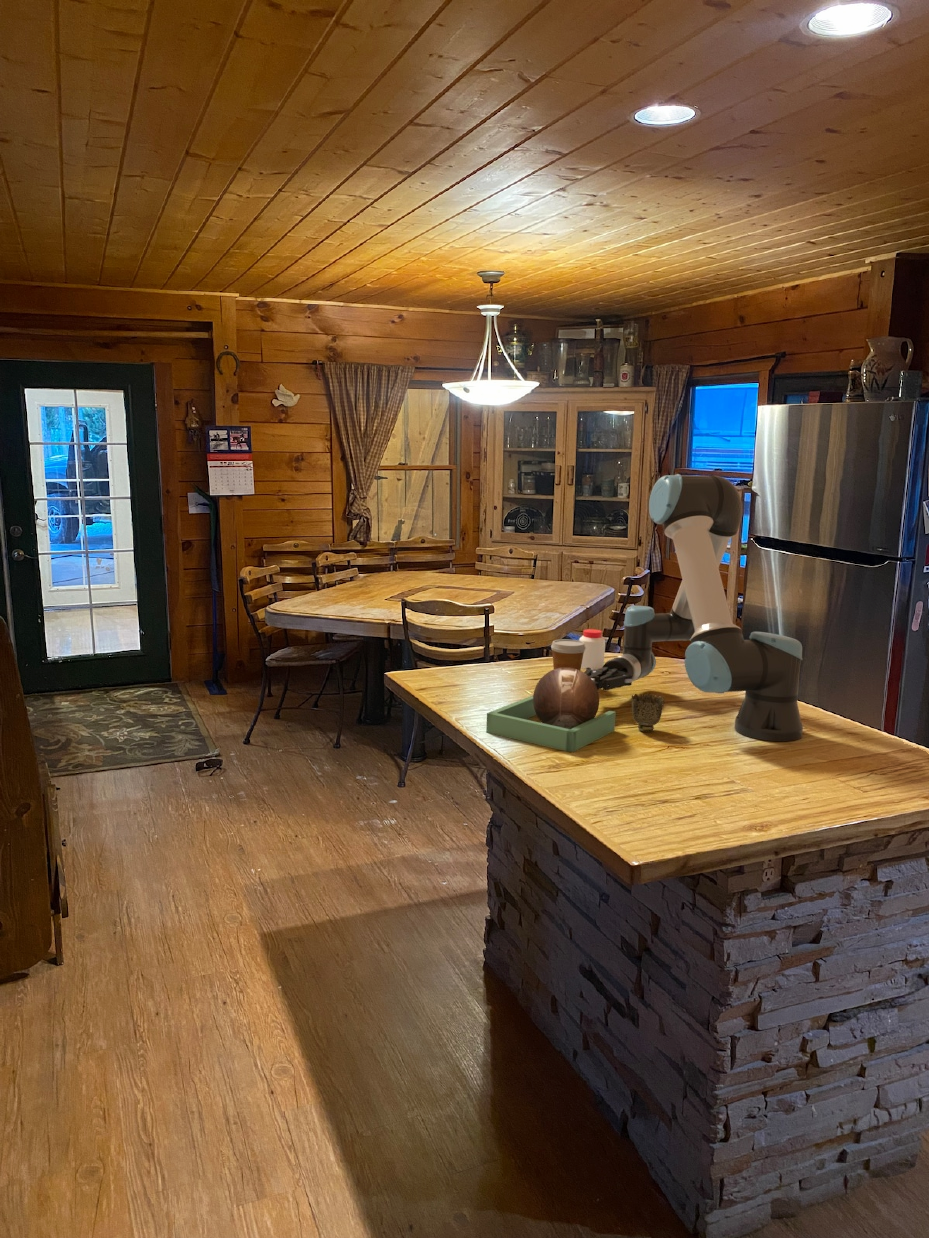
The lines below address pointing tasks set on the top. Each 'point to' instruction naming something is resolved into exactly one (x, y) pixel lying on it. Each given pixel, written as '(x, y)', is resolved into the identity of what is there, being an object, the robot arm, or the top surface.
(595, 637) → the pill bottle
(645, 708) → the cup
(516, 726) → the green bracket
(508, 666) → the top surface
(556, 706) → the wooden sphere
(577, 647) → the disposable coffee cup
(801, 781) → the top surface
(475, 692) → the top surface
